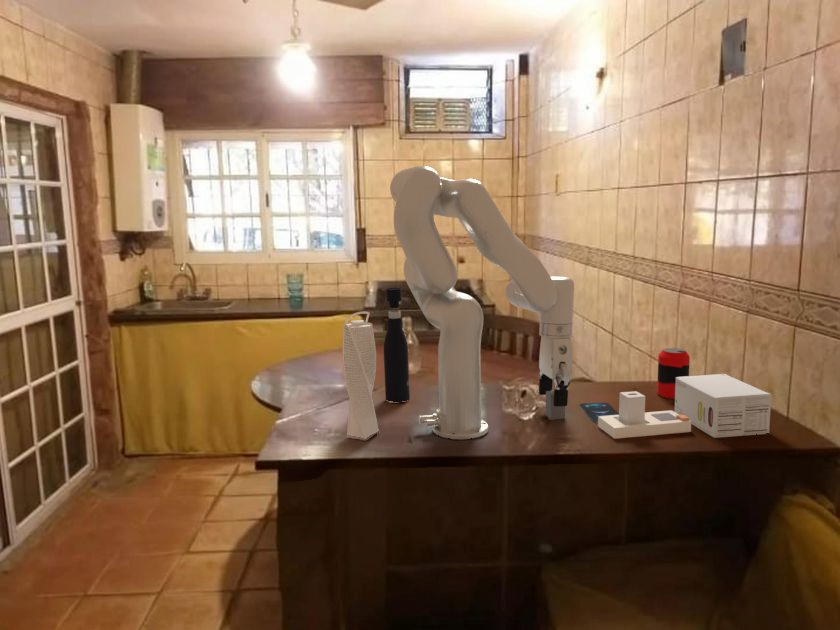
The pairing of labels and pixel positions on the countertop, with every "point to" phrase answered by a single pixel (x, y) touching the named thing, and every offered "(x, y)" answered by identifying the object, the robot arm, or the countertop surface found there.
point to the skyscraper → (360, 375)
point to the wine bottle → (395, 352)
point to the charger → (631, 408)
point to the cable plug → (553, 407)
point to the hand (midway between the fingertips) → (552, 400)
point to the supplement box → (723, 405)
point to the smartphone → (598, 410)
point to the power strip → (646, 425)
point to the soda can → (671, 370)
